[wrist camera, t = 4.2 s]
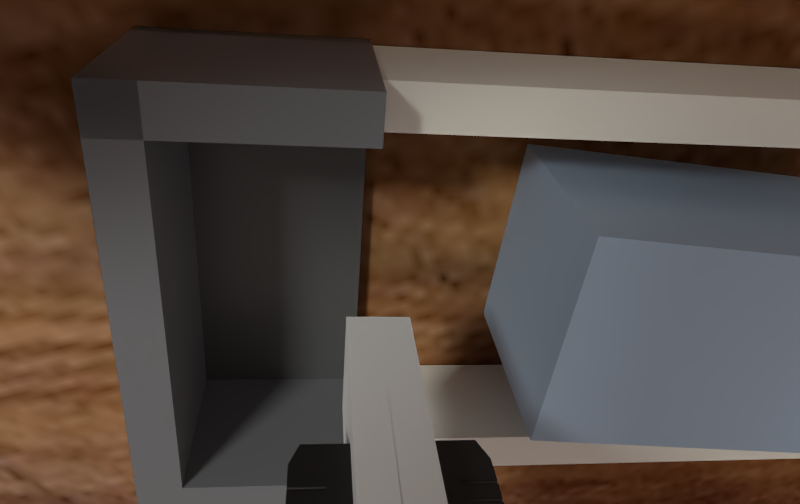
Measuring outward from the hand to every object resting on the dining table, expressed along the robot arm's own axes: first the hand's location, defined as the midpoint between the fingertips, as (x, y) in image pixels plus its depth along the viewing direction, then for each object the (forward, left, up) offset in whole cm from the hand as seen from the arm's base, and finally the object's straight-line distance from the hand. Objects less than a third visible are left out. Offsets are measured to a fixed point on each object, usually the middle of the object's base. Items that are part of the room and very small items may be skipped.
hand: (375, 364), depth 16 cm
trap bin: (-3, 0, -5) cm, 6 cm away
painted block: (+9, 0, -6) cm, 11 cm away
